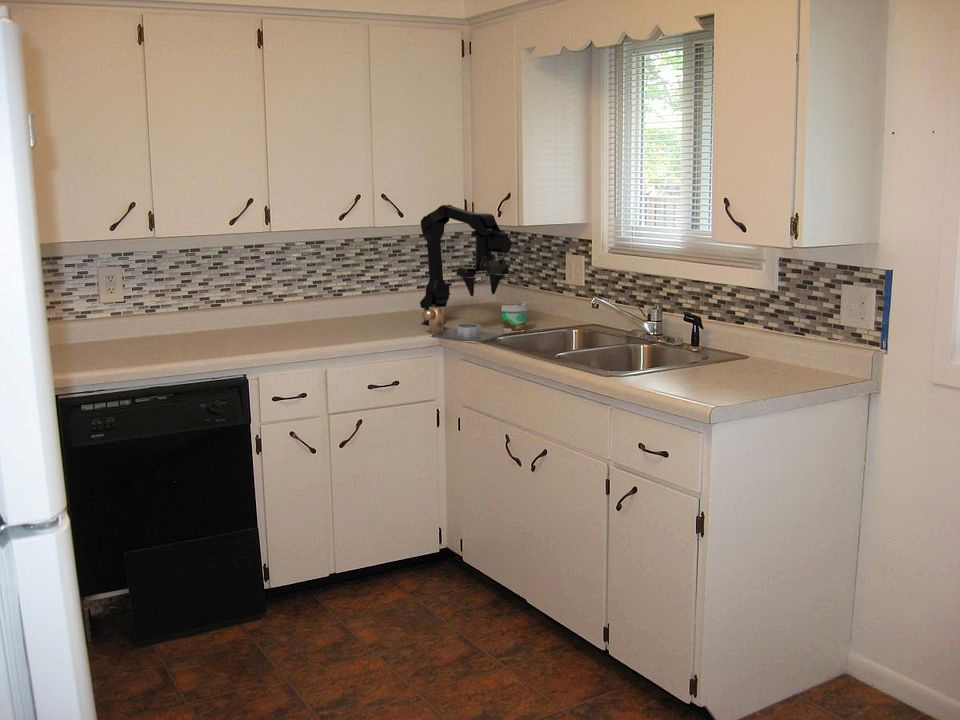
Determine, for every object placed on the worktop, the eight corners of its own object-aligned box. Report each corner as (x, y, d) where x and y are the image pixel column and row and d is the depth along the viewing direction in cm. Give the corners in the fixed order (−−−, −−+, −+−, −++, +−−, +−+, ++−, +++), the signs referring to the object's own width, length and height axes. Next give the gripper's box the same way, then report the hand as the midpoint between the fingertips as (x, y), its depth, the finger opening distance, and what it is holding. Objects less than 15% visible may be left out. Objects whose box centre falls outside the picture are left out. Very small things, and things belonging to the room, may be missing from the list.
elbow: (420, 333, 348) (420, 308, 346) (435, 330, 354) (435, 305, 352) (431, 335, 345) (431, 310, 343) (446, 332, 351) (446, 307, 349)
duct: (431, 336, 342) (431, 325, 342) (458, 330, 354) (458, 319, 353) (478, 344, 331) (478, 332, 330) (504, 337, 343) (504, 325, 342)
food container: (515, 335, 346) (515, 307, 344) (501, 333, 350) (501, 305, 348) (535, 330, 356) (535, 302, 354) (521, 328, 359) (521, 300, 357)
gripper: (475, 254, 332) (474, 301, 336) (519, 251, 343) (517, 296, 347) (456, 251, 341) (455, 296, 344) (499, 248, 352) (498, 291, 355)
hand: (482, 295), depth 348 cm, fingers open, 9 cm apart
